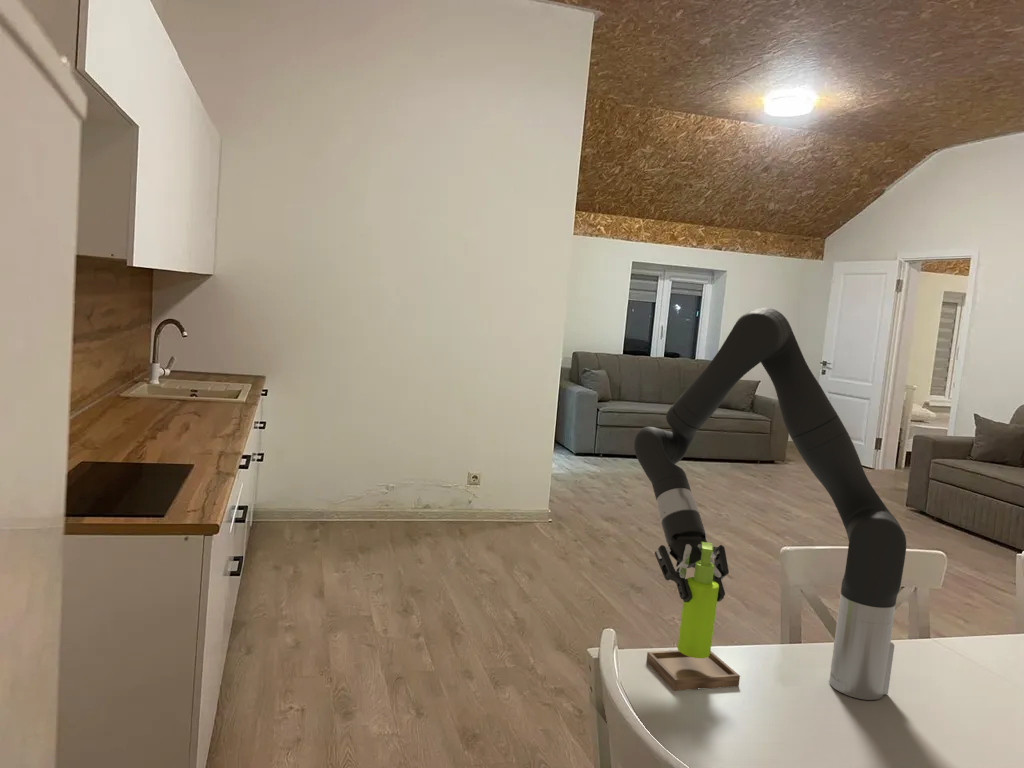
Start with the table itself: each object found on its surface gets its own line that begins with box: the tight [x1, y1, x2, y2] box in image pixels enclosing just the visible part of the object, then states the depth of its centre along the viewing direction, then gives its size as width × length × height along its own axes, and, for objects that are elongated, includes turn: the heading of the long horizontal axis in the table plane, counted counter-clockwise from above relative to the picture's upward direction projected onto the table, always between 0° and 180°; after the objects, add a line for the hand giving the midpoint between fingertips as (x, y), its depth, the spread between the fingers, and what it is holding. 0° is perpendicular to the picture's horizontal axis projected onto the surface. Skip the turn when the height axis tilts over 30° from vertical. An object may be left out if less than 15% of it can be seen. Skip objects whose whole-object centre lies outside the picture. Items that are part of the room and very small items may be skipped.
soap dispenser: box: [677, 541, 719, 658], centre depth 144 cm, size 6×7×20 cm
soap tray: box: [646, 649, 741, 692], centre depth 145 cm, size 13×11×2 cm
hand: (704, 600), depth 142 cm, fingers closed on soap dispenser, 6 cm apart
